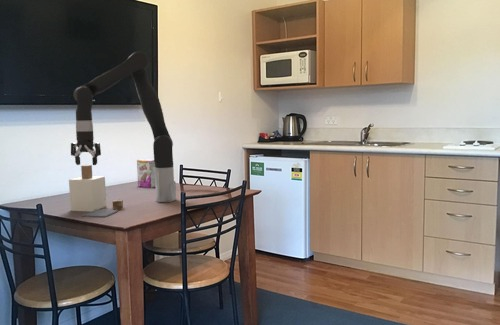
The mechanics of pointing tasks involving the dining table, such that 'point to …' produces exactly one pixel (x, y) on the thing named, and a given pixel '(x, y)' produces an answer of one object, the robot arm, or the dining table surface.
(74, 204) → the cover
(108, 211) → the mat
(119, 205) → the walnut block
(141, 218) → the dining table surface
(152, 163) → the candy bar box
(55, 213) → the dining table surface
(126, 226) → the dining table surface
